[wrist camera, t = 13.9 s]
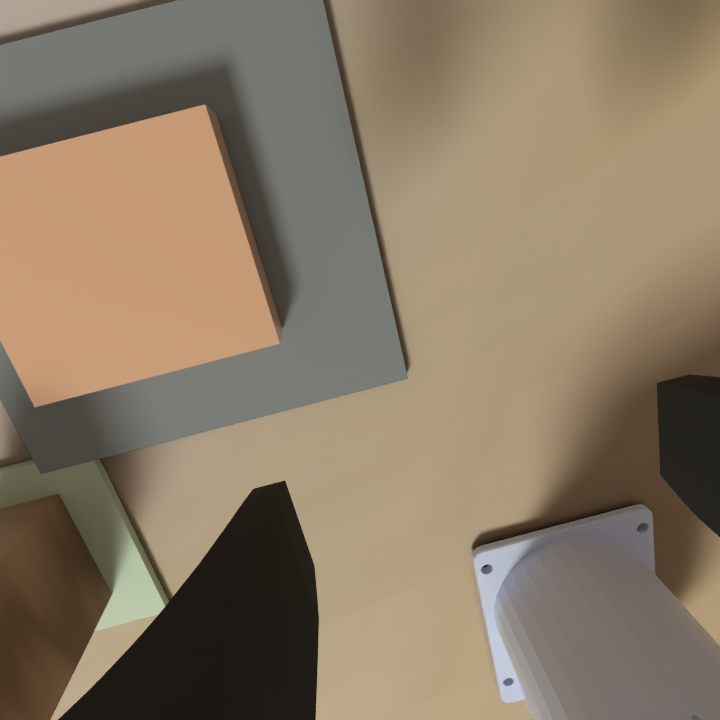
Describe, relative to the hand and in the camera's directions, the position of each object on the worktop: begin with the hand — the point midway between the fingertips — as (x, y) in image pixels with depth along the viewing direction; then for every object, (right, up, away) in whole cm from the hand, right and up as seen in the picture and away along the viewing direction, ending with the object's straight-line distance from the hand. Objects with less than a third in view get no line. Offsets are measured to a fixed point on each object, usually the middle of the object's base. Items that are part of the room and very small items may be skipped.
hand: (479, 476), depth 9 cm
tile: (-6, +6, +6) cm, 10 cm away
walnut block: (-14, -5, +10) cm, 18 cm away
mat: (-9, +6, +7) cm, 13 cm away
